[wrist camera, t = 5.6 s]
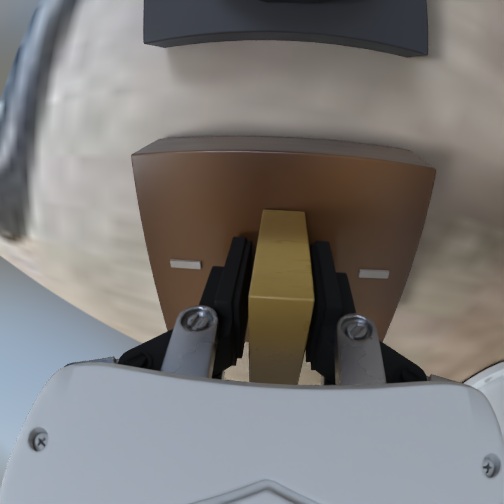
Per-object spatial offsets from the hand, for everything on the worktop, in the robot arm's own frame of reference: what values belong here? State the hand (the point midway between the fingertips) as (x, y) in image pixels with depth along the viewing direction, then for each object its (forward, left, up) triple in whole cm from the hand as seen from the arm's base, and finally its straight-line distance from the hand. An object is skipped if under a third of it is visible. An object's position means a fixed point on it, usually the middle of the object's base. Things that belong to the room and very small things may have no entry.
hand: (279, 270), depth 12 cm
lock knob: (0, 0, 0) cm, 0 cm away
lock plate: (0, 0, -3) cm, 3 cm away
